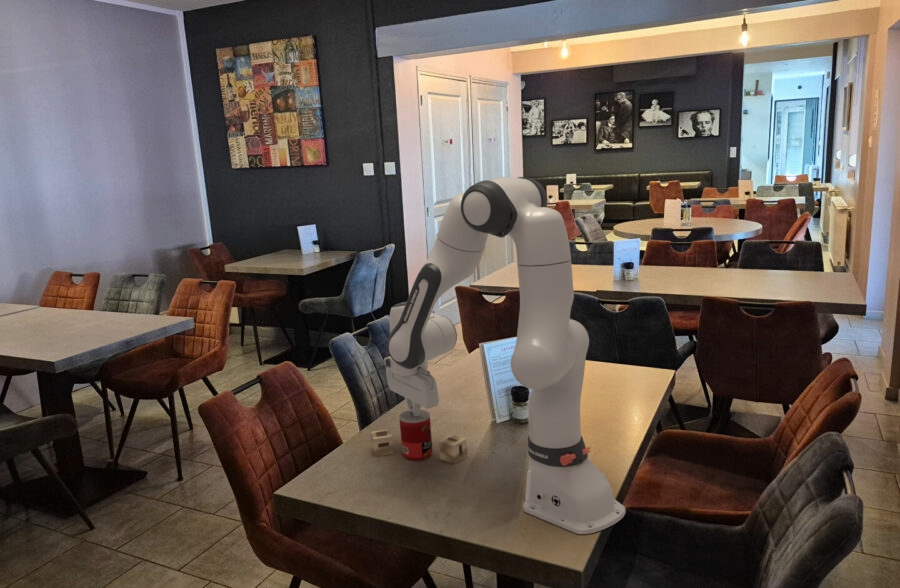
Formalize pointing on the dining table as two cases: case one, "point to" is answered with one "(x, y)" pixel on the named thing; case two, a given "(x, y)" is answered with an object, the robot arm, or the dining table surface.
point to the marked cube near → (453, 449)
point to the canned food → (416, 435)
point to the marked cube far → (382, 442)
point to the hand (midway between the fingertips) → (414, 414)
